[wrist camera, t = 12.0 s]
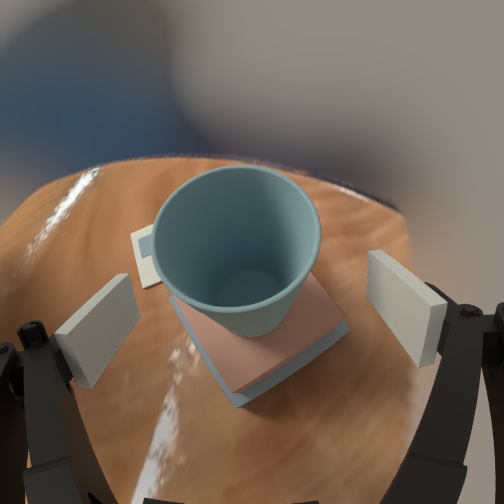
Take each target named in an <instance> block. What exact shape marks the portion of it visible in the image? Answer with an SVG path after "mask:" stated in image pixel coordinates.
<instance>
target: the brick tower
mask: <svg viewBox="0 0 504 504" xmlns="http://www.w3.org/2000/svg"><path fill="white" fill-rule="evenodd" d="M172 294H173V293H172ZM168 298H169V300H170V302H171V304H172V305H173V307H174V309H175V311H176V313H177V315H178V316H179V318H180V320H181V322H182V324H183V325H184V327H185V329H186V331H187V332H188V334H189V336H190V338H191V339H192V341H193V343H194V345H195V346H196V348H197V350H198V351H199V353H200V355H201V356H202V358H203V360H204V361H205V363H206V365H207V366H208V368H209V369H210V371H211V373H212V374H213V376H214V377H215V379H216V381H217V382H218V384H219V385H220V387H221V388H222V390H223V391H224V393H225V394H226V396H227V398H228V399H229V401H230V402H231V404H232V405H233V407H234V408H235V409H236V408H239V407H242V406H243V405H245V404H247V403H248V402H250V401H252V400H253V399H255V398H256V397H258V396H260V395H261V394H263V393H264V392H266V391H268V390H269V389H271V388H272V387H274V386H275V385H277V384H278V383H280V382H281V381H283V380H284V379H286V378H287V377H289V376H290V375H292V374H293V373H295V372H296V371H298V370H299V369H301V368H302V367H303V366H305V365H306V364H308V363H309V362H310V361H312V360H313V359H315V358H316V357H317V356H319V355H320V354H322V353H323V352H324V351H326V350H327V349H328V348H330V347H331V346H332V345H334V344H335V343H336V342H337V341H339V340H340V339H341V338H342V337H343V336H345V335H346V334H347V333H348V332H349V331H350V330H351V329H350V328H349V327H348V326H347V324H346V323H345V322H344V320H343V317H344V316H345V314H344V313H343V312H342V311H341V309H340V308H339V307H338V306H337V304H336V303H335V302H334V301H333V299H332V298H331V297H330V296H329V294H328V293H327V292H326V291H325V289H324V288H323V287H322V286H321V284H320V283H319V282H318V281H317V280H316V278H315V277H314V276H313V275H312V273H311V272H310V273H309V275H308V277H307V278H306V280H305V282H304V284H303V285H302V287H301V289H300V291H299V293H298V294H297V296H296V298H295V300H294V302H293V303H292V305H291V307H290V309H289V310H288V312H287V314H286V315H285V317H284V319H283V320H282V321H281V323H279V324H278V326H277V327H276V328H275V329H274V330H273V331H271V332H269V333H266V334H264V335H262V336H259V337H242V336H238V335H236V334H234V333H233V332H231V331H229V330H228V329H226V328H224V327H223V326H221V325H220V324H218V323H217V322H215V321H214V320H212V319H211V318H209V317H208V316H206V315H205V314H202V313H200V312H199V311H197V310H195V309H194V308H192V307H191V306H189V305H188V304H186V303H185V302H183V301H182V300H180V299H179V298H178V297H176V296H175V295H174V294H173V295H171V296H170V297H168Z"/></svg>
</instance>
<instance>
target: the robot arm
mask: <svg viewBox="0 0 504 504" xmlns="http://www.w3.org/2000/svg"><path fill="white" fill-rule="evenodd" d="M367 299H368V300H369V301H370V303H371V304H372V305H373V307H374V308H375V309H376V311H377V312H378V313H379V315H380V316H381V317H382V319H383V320H384V321H385V323H386V324H387V325H388V327H389V328H390V329H391V331H392V332H393V333H394V335H395V336H396V338H397V339H398V340H399V342H400V343H401V345H402V346H403V347H404V349H405V350H406V352H407V353H408V354H409V356H410V357H411V359H412V360H413V362H414V363H415V364H416V366H417V367H418V368H420V367H424V366H427V365H430V364H433V363H434V360H435V357H436V353H437V352H438V353H439V354H440V355H441V356H442V358H441V361H440V365H439V368H438V371H437V375H436V378H435V382H434V385H433V388H432V391H431V394H430V397H429V400H428V402H427V405H426V408H425V411H424V413H423V416H422V419H421V421H420V424H419V426H418V429H417V431H416V433H415V436H414V438H413V440H412V442H411V445H410V447H409V449H408V451H407V453H406V456H405V458H404V460H403V462H402V464H401V466H400V468H399V470H398V472H397V474H396V475H395V477H394V479H393V481H392V483H391V485H390V487H389V488H388V490H387V492H386V494H385V495H384V497H383V499H382V500H381V502H380V504H457V501H458V499H459V496H460V493H461V490H462V487H463V484H464V481H465V478H466V474H467V466H464V465H463V462H464V458H465V454H466V451H467V447H468V443H469V439H470V435H471V430H472V425H473V420H474V415H475V410H476V404H477V397H478V390H479V382H480V373H481V367H482V371H483V375H484V380H485V385H486V390H487V395H488V401H489V407H490V414H491V421H492V429H493V439H494V451H495V473H496V492H495V504H504V303H503V302H502V303H500V304H498V305H497V308H496V312H495V314H493V315H483V312H482V310H481V309H479V308H478V307H476V306H474V305H470V304H460V305H457V303H455V302H454V301H453V300H452V299H450V298H449V297H448V296H447V295H446V296H445V294H444V293H443V292H441V291H440V290H439V289H438V288H437V287H435V286H434V285H431V284H429V283H427V282H424V283H423V282H422V281H421V280H420V279H418V278H417V277H416V276H415V275H413V274H412V273H411V272H410V271H408V270H407V269H406V268H404V267H403V266H402V265H401V264H399V263H398V262H397V261H395V260H394V259H393V258H391V257H390V256H389V255H387V254H386V253H385V252H383V251H382V250H372V251H368V276H367ZM139 318H140V313H139V310H138V306H137V302H136V298H135V295H134V291H133V287H132V283H131V279H130V275H129V273H125V274H117V275H116V276H115V277H114V278H113V279H112V280H110V281H109V282H108V283H107V284H106V285H105V286H104V287H103V288H102V289H100V290H99V291H98V292H97V293H96V294H95V295H94V296H93V297H92V298H91V299H89V300H88V301H87V302H86V303H85V304H84V305H83V306H82V307H81V308H80V309H79V310H78V311H77V312H75V313H74V314H73V315H72V316H71V317H70V318H69V319H68V320H67V321H66V322H65V323H64V324H63V325H62V326H61V327H60V328H59V329H58V330H57V331H56V332H55V333H54V334H53V335H52V336H51V337H50V338H48V336H47V333H46V331H45V328H44V326H43V323H42V321H31V322H28V323H26V324H24V325H23V326H21V327H20V328H19V329H18V331H17V333H18V336H19V338H20V340H21V343H22V345H23V347H24V349H25V350H24V351H21V352H17V351H16V349H15V346H14V344H13V343H11V342H8V343H2V344H0V504H25V491H26V496H27V500H28V504H118V502H117V501H116V499H115V497H114V495H113V493H112V491H111V489H110V487H109V485H108V483H107V481H106V479H105V476H104V474H103V472H102V470H101V467H100V465H99V463H98V461H97V458H96V456H95V453H94V451H93V448H92V446H91V443H90V440H89V438H88V435H87V432H86V430H85V427H84V424H83V421H82V418H81V415H80V412H79V408H78V405H77V402H76V399H75V395H74V391H73V388H72V386H71V385H70V383H69V382H70V380H71V379H72V378H74V379H75V381H76V383H77V385H78V387H79V388H85V389H93V387H94V386H95V384H96V383H97V381H98V380H99V378H100V376H101V375H102V373H103V372H104V370H105V369H106V367H107V366H108V364H109V363H110V361H111V359H112V358H113V356H114V355H115V353H116V352H117V350H118V349H119V347H120V346H121V344H122V343H123V341H124V340H125V338H126V337H127V336H128V334H129V333H130V331H131V330H132V328H133V327H134V325H135V324H136V322H137V321H138V320H139ZM10 389H11V390H10ZM11 391H12V392H11ZM28 449H29V454H30V460H31V466H32V467H30V468H27V458H28ZM143 504H184V503H177V502H169V501H162V500H156V499H150V498H144V501H143ZM294 504H319V502H318V501H311V502H303V503H294Z"/></svg>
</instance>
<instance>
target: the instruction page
mask: <svg viewBox="0 0 504 504" xmlns="http://www.w3.org/2000/svg"><path fill="white" fill-rule="evenodd" d="M153 225H154V224H152V225H149V226H147V227H145V228H143V229H140V230H138V231H136V232H134V233H131V239H132V243H133V248H134V253H135V257H136V262H137V266H138V270H139V274H140V278H141V282H142V286H143V289H145V288H148V287H150V286H152V285H155V284H157V283H160V282H162V281H161V279H160V277H159V276H158V274H157V272H156V270H155V267H154V264H153V261H152V256H151V248H150V243H151V233H152V229H153Z"/></svg>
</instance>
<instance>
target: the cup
mask: <svg viewBox="0 0 504 504" xmlns="http://www.w3.org/2000/svg"><path fill="white" fill-rule="evenodd" d="M320 244H321V225H320V219H319V215H318V213H317V210H316V208H315V206H314V204H313V202H312V200H311V199H310V197H309V196H308V194H307V193H306V192H305V191H304V190H303V189H302V188H301V187H300V186H299V185H298V184H297V183H295V182H294V181H293V180H291V179H290V178H288V177H286V176H285V175H283V174H281V173H279V172H276V171H274V170H271V169H268V168H264V167H259V166H252V165H232V166H224V167H219V168H216V169H212V170H209V171H206V172H204V173H202V174H200V175H197V176H195V177H194V178H192V179H190V180H189V181H187V182H186V183H184V184H183V185H181V186H180V187H179V188H178V189H177V190H176V191H175V192H173V193H172V195H171V196H170V197H169V198H168V199H167V200H166V202H165V203H164V204H163V206H162V207H161V209H160V211H159V213H158V215H157V217H156V219H155V222H154V225H153V229H152V233H151V243H150V248H151V256H152V261H153V264H154V267H155V270H156V272H157V274H158V276H159V277H160V279H161V281H162V282H163V283H164V285H165V286H166V287H167V288H168V289H169V290H170V291H171V292H172V293H173V294H174V295H175V296H176V297H178V298H179V299H180V300H182V301H183V302H185V303H186V304H188V305H189V306H191V307H192V308H194V309H195V310H197V311H199V312H200V313H202V314H205V315H206V316H208V317H209V318H211V319H212V320H214V321H215V322H217V323H218V324H220V325H221V326H223V327H224V328H226V329H228V330H229V331H231V332H233V333H234V334H236V335H238V336H242V337H259V336H262V335H264V334H266V333H269V332H271V331H273V330H274V329H275V328H276V327H277V326H278V324H279V323H281V321H282V320H283V319H284V317H285V315H286V314H287V312H288V310H289V309H290V307H291V305H292V303H293V302H294V300H295V298H296V296H297V294H298V293H299V291H300V289H301V287H302V285H303V284H304V282H305V280H306V278H307V277H308V275H309V273H310V271H311V269H312V267H313V265H314V263H315V261H316V259H317V256H318V253H319V249H320Z"/></svg>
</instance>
